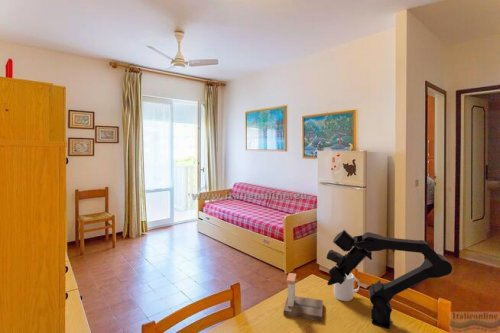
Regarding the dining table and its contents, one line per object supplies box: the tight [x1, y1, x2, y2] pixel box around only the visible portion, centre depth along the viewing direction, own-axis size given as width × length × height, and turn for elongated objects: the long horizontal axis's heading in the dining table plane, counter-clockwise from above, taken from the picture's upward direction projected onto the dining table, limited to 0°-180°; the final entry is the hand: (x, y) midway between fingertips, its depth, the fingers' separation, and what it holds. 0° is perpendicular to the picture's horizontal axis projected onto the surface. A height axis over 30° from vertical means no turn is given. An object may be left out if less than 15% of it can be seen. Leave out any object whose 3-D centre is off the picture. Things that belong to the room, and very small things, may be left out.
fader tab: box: [286, 272, 297, 307], centre depth 122 cm, size 3×7×12 cm, turn 164°
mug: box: [333, 272, 361, 302], centre depth 131 cm, size 9×12×11 cm
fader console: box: [283, 295, 324, 322], centre depth 121 cm, size 16×12×2 cm
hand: (328, 284), depth 118 cm, fingers closed
